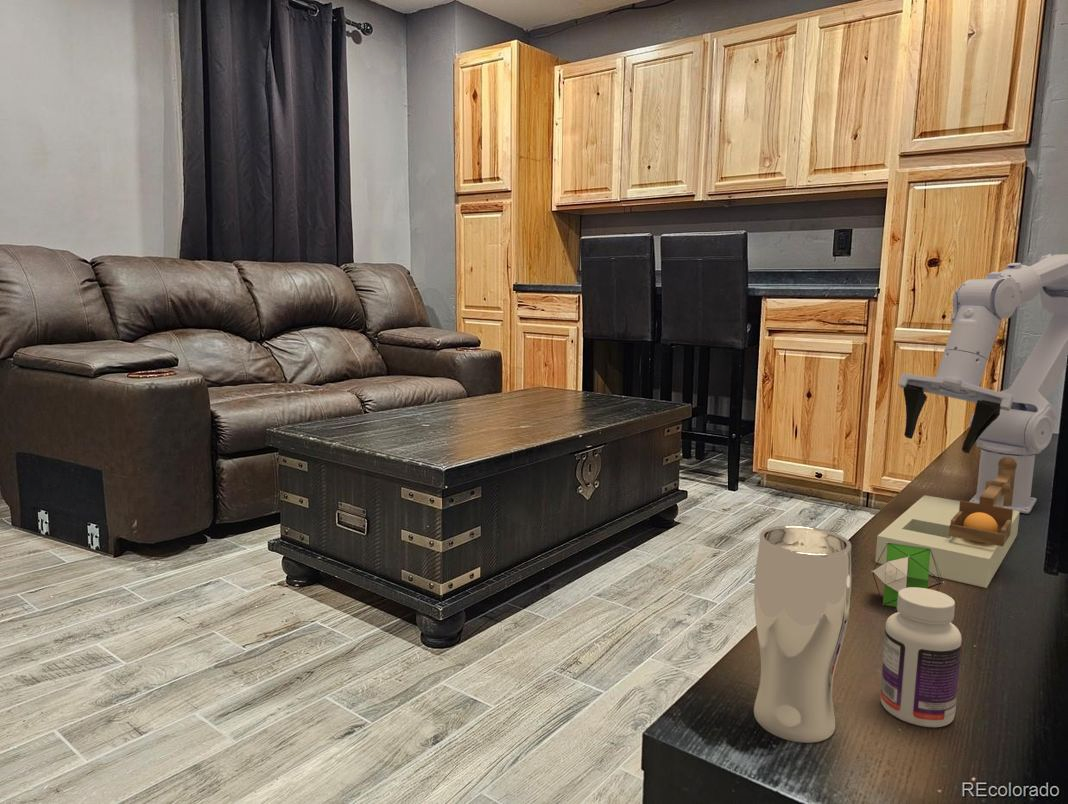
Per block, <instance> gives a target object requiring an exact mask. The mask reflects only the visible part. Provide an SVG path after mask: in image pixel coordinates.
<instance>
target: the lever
mask: <svg viewBox="0 0 1068 804" xmlns="http://www.w3.org/2000/svg"><path fill="white" fill-rule="evenodd" d="M998 467H999V468H998V477H997V478H996V479H995V480H994V481H987V482H986V485H985V491H984V493H983V494H982V495H981V496H980V502H979V503H973V502H969V501H965V500H959V501H960V506H959V512H958V513H957V514H956V515H955V516H954V517H953V518H952V519H951V524H950V528H949V536H952V537H957V538H962V539H967V540H972V541H977V542H982V543H987V544H993V545H998V546H1004V544H1005V542H1006V541H1007V539H1008V538H1009V536H1010V533H1011V524H1012V515H1013V509H1009V508H1003V507H997V506H993V505H994V504H995V503H996V501H997V500H998V499H999V497H1000V496H1001V495H1002V494H1004V502H1003V506H1012V499H1013V489H1014V480H1015V471H1016V467H1017V463H1016V461H1015V460H1014V459H1013V458H1010V457H1004V458H1002V459H1000V460H999V462H998ZM977 512H981V513H986V514H988V515H990V516H991V517H993V518H994V519H995V521H996V523H997V525H998V532H997V533H996V532H990V531H985V530H980V529H974V528H969V527H964V526H963V524H964V521H965V519H966V518H967V517H968V516H969V515H970V514H973V513H977Z"/></svg>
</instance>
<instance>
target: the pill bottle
mask: <svg viewBox="0 0 1068 804" xmlns="http://www.w3.org/2000/svg"><path fill="white" fill-rule="evenodd" d="M955 606H956V602H955V600H954V599H953V598H952V597H951V596H950V595H948V594H946V593H944V592H941V591H938V590H937V591H936V589H935V590H934V589H931V588H928V589H926V588H918V587H908V588H903V589H901V590H900V591H899V592H898V599H897V607H896V611H897V612H895V613H893V614H891V615H890V616H889V617H888V618H887V619H886V622H885V627H884V639H883V640H884V641H883V653H882V666H881V668H882V669H881V682H880V703H881V705H882V706H883V708H884V709H885V710H886V711H887V712H888V713H889V714H890V715H892V716H894V717H895V718H897V719H899V720H901V721H903V722H906V723H908V724H911V725H915V726H920V727H925V728H940V727H941V728H942V727H945V726H948V725H949V724H951V723H952V722H953V721H954V718H955V715H956V708H957V696H958V684H959V674H960V664H961V655H962V654H961V652H962V650H961V649H962V634H961V632H960V630H959V628H958V627H957V626H956V625H954V624H953V623H952V622H953V621H954V617H955Z"/></svg>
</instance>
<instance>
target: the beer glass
mask: <svg viewBox="0 0 1068 804" xmlns="http://www.w3.org/2000/svg"><path fill="white" fill-rule="evenodd" d="M758 543H759V544H758V550H757V556H756V557H757V558H756V566H755V574H754V575H755V576H754V585H753V587H754V589H753V590H754V591H753V592H754V593H753V594H754V596H753V598H754V599H753V601H754V602H753V603H754V615H755V617H754V618H755V625H756V633H757V640H758V641H757V642H758V646H759V655H760V680H759V686H758V690H757V693H756V697H755V701H754V706H753V715H754V718H755V720H756V722H757V723H758V724H759V725H760V727H762V728H763V729H764V730H765V731H766V732H768V733H770V734H772V735H773V736H775V737H778V738H780V739H783V740H787V741H789V742H794V743H799V744H801V743H803V744H814V743H819V742H823V741H825V740H827V739H829V738H831V737H832V735H833V734H834V732H835V729H836V719H835V718H836V717H835V712H834V711H835V709H834V703H833V702H834V701H833V684H834V675H835V671H836V668H837V663H838V660H839V657H840V653H841V650H842V646H843V644H844V643H843V642H844V639H845V636H846V630H847V627H848V622H849V618H850V609H851V608H850V607H851V600H852V543H851V541H849V540H848V539H847V538H846V537H845V536H842V535H840V534H838V533H836V532H833V531H829V530H826V529H822V528H817V527H813V526H806V525H779V526H777V525H776V526H771V527H767V528H765V529H763V530H762V531H761V532H760V534H759V542H758Z"/></svg>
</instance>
